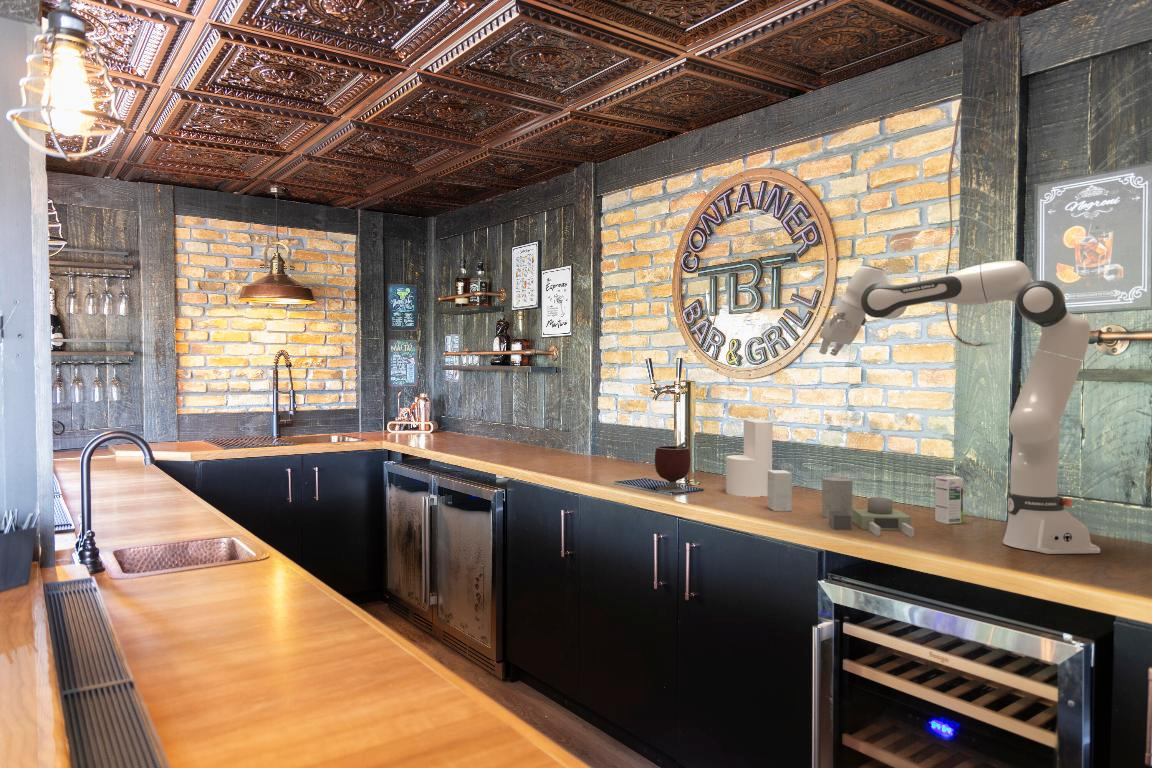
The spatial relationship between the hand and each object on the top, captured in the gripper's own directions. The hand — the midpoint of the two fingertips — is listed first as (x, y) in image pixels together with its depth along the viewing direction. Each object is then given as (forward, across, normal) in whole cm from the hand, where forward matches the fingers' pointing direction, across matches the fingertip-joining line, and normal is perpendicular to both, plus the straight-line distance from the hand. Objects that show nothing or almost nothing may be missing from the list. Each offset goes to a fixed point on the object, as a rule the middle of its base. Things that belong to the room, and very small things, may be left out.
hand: (827, 354), depth 238 cm
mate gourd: (+78, +22, +36) cm, 89 cm away
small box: (+56, +12, -7) cm, 58 cm away
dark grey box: (+44, -5, -30) cm, 54 cm away
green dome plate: (+38, +2, -40) cm, 56 cm away
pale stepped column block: (+66, +36, +14) cm, 77 cm away
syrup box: (+32, +25, -51) cm, 66 cm away
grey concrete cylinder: (+47, +12, -24) cm, 54 cm away
